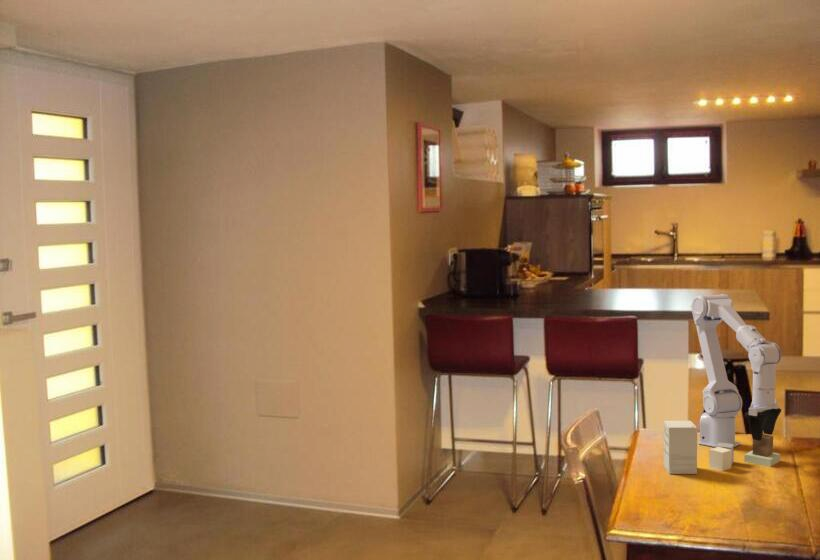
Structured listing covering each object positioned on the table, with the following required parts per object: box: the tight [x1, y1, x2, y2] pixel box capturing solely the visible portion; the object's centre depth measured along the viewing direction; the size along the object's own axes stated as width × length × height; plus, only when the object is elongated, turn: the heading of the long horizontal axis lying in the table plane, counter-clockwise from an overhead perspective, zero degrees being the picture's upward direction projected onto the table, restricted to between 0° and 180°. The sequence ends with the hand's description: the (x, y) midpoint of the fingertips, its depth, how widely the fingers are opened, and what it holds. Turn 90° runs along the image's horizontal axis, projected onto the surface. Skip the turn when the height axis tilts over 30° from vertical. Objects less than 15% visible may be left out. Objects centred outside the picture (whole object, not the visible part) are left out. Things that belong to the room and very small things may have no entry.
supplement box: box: [663, 420, 698, 475], centre depth 228 cm, size 7×7×13 cm
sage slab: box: [743, 449, 781, 468], centre depth 235 cm, size 7×7×2 cm
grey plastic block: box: [715, 442, 735, 466], centre depth 234 cm, size 4×4×5 cm
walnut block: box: [752, 433, 774, 457], centre depth 235 cm, size 4×4×5 cm
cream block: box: [708, 447, 732, 472], centre depth 230 cm, size 4×4×5 cm
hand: (762, 436), depth 235 cm, fingers open, 7 cm apart
